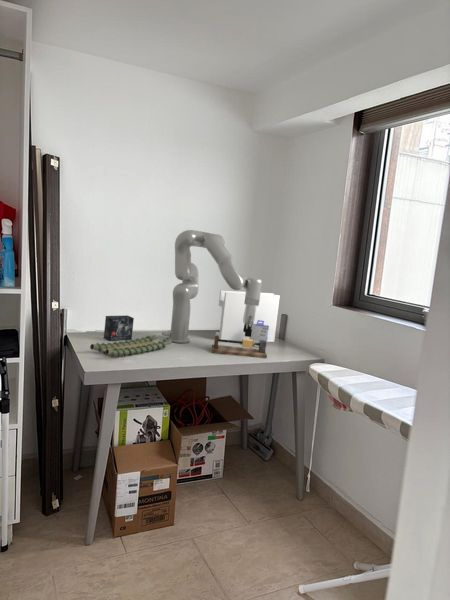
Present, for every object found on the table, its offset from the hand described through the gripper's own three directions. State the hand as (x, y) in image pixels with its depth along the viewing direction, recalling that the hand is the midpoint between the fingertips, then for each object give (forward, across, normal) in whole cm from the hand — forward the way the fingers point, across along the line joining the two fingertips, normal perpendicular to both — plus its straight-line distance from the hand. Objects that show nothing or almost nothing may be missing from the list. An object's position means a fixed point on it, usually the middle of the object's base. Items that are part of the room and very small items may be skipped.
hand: (246, 334), depth 240 cm
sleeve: (+6, 0, +1) cm, 6 cm away
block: (+11, -32, +3) cm, 33 cm away
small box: (+12, -4, -66) cm, 67 cm away
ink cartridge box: (+10, -19, +9) cm, 23 cm away
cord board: (+10, 0, -3) cm, 11 cm away
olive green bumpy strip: (+12, +16, -55) cm, 59 cm away
